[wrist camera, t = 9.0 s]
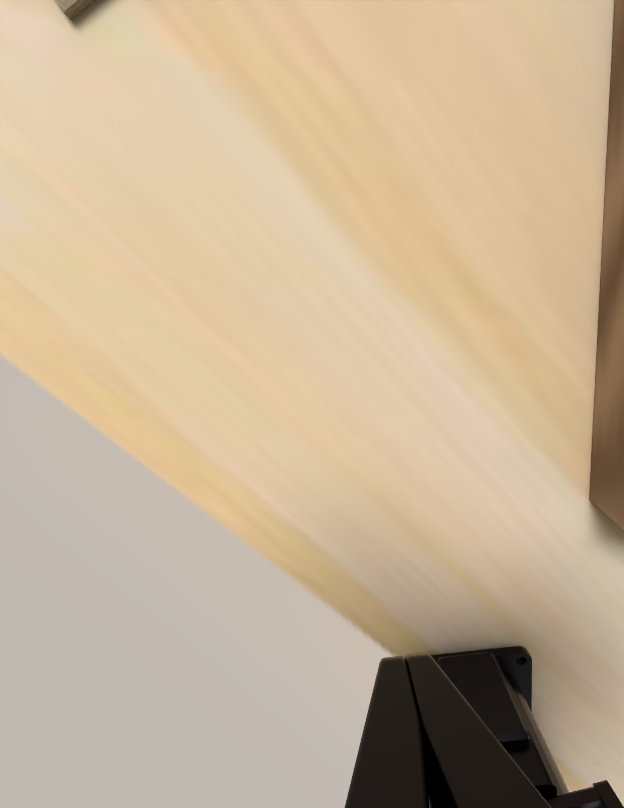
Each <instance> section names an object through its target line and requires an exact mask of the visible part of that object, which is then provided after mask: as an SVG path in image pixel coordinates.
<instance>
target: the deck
mask: <svg viewBox="0 0 624 808" xmlns="http://www.w3.org/2000/svg"><path fill="white" fill-rule="evenodd" d="M589 500H590V501H591V502H592V503H594V504H595V505H596V506H597V507H598V508H599V509H600V510H601V511H602V512H603V513H605V514H606V515H607V516H608V517H609V518H610V519H611V520H612V521H613V522H615V523H616V524H617V525H618V526H619V527H620V528H621V529H622V530H623V531H624V0H615V7H614V27H613V47H612V66H611V86H610V106H609V125H608V145H607V165H606V184H605V204H604V224H603V243H602V263H601V283H600V302H599V322H598V342H597V361H596V381H595V401H594V420H593V440H592V460H591V479H590V499H589Z"/></svg>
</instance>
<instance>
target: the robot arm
mask: <svg viewBox="0 0 624 808" xmlns="http://www.w3.org/2000/svg"><path fill="white" fill-rule="evenodd" d="M519 657H520V658H519ZM531 698H532V659H531V656H530V654H529V652H528V650H527V649H526V648H524V647H521V646H517V647H507V648H498V649H488V650H479V651H469V652H460V653H450V654H441V655H431V656H430V655H429V654H425V653H424V654H415V655H408V656H407V657H406V659H404V657H402V656H396V657H387V658H383V659H382V660H381V661H380V664H379V668H378V673H377V676H376V681H375V685H374V689H373V693H372V697H371V701H370V705H369V709H368V714H367V718H366V722H365V726H364V730H363V734H362V739H361V743H360V747H359V751H358V755H357V759H356V763H355V768H354V772H353V776H352V780H351V784H350V788H349V792H348V797H347V800H346V805H345V808H624V807H623V805H622V804H621V802H620V801H619V799H618V797H617V796H616V794H615V792H614V791H613V789H612V788H611V786H610V784H609V783H608V781H607V780H605V781H601V782H597V783H593V786H594V787H590V788H586V789H582V790H578V791H574V792H570V793H569V791H568V789H567V787H566V785H565V783H564V781H563V778H562V776H561V774H560V772H559V770H558V768H557V766H556V764H555V761H554V759H553V757H552V755H551V753H550V751H549V749H548V746H547V744H546V742H545V740H544V738H543V736H542V734H541V732H540V729H539V727H538V725H537V723H536V721H535V719H534V717H533V715H532V712H531ZM429 804H430V805H429Z"/></svg>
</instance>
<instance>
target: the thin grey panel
mask: <svg viewBox="0 0 624 808" xmlns="http://www.w3.org/2000/svg"><path fill="white" fill-rule="evenodd" d="M94 1H95V0H56V2H57V3H58V5H59V6H60V8H61V9H62V11H63V12H64V13H65V14H66V15H67V16H68V17H69V18H70V19H73V18H74V17H75V16H76V15H78V14H79V13H80V12H81V11H83V10H84V9H85V8H86V7H88V6H89V5H90V4H91V3H92V2H94Z"/></svg>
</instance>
